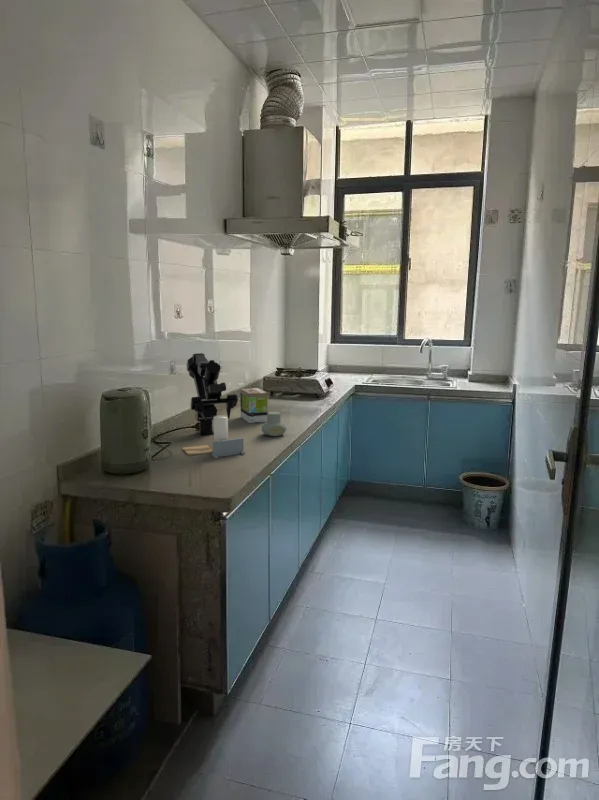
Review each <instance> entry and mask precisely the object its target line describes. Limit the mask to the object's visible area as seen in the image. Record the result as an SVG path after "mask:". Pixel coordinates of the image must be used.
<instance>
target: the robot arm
mask: <svg viewBox="0 0 599 800" xmlns="http://www.w3.org/2000/svg"><path fill="white" fill-rule="evenodd" d="M186 370H187V372H188V374H189V377H191V378H192V379H193V381H194V386H195V390H196V394H197V396H192V397H191V398H190V404H189V405H190V410H192V411H193V410H194V412H195V413H194V418H195V420H196V422H199V423H198V424H199V425H198V426H199V430H197V431H196V432H197V433H198V434H199V435H200V436H205V435H214V427H213V421H214V420H213V417H214V416H218V415H217V414H218V409H217V406H215V405H221V404H225V406H226V407H225V409H226V416H228V420H229V419H231V418H230V417H231V411H232V409H234V408H235V407H237V404H238V400H239V398H238V395H237V394H236V393H234V394H232V393H231V394H227V395H226V398H225V397H224V398H221V397H222V395H223V394H222V393H223V392H225V391H226V390H227V384H226V382H220V383H218V379H219V377H220V372H221V365H220V364H219V363H217V362H216V361H215V360H214V359H212V360H211V359H210V360H208V358H206V356H205V354H204V353H203V352H202V353H201V352H200V353H199V352H198V353H193V354H192V356H191V357H190V358H188V359H187V362H186Z"/></svg>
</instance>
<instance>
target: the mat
mask: <svg viewBox="0 0 599 800" xmlns="http://www.w3.org/2000/svg"><path fill="white" fill-rule="evenodd" d="M182 451H184V452H185V453H186V455H187V456H189V457H191V456H198V455H206V453H207V454H212V453H213V448H211V447H210V446H209V445H208V444H203V445H194V446H185V447H182Z"/></svg>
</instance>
